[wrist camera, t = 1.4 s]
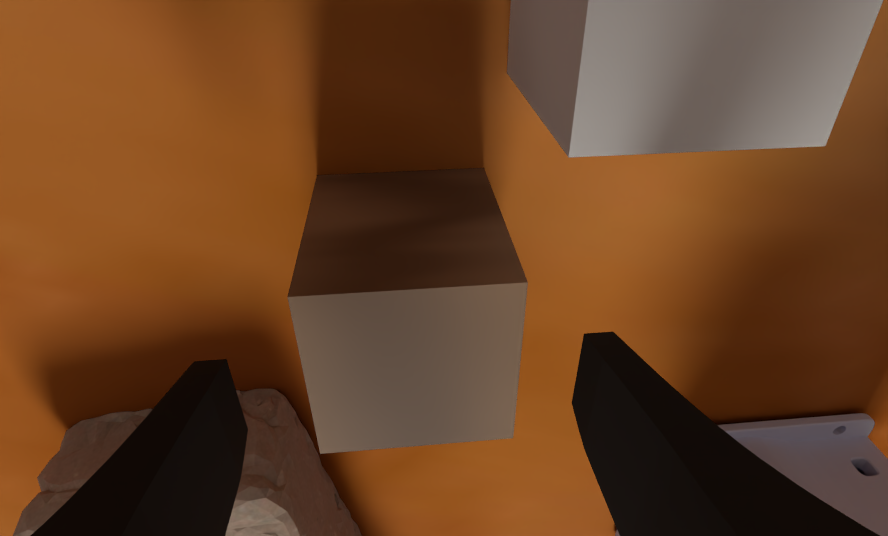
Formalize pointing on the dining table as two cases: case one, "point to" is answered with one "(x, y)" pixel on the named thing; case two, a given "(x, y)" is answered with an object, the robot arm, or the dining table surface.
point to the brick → (261, 485)
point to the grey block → (686, 71)
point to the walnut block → (408, 310)
